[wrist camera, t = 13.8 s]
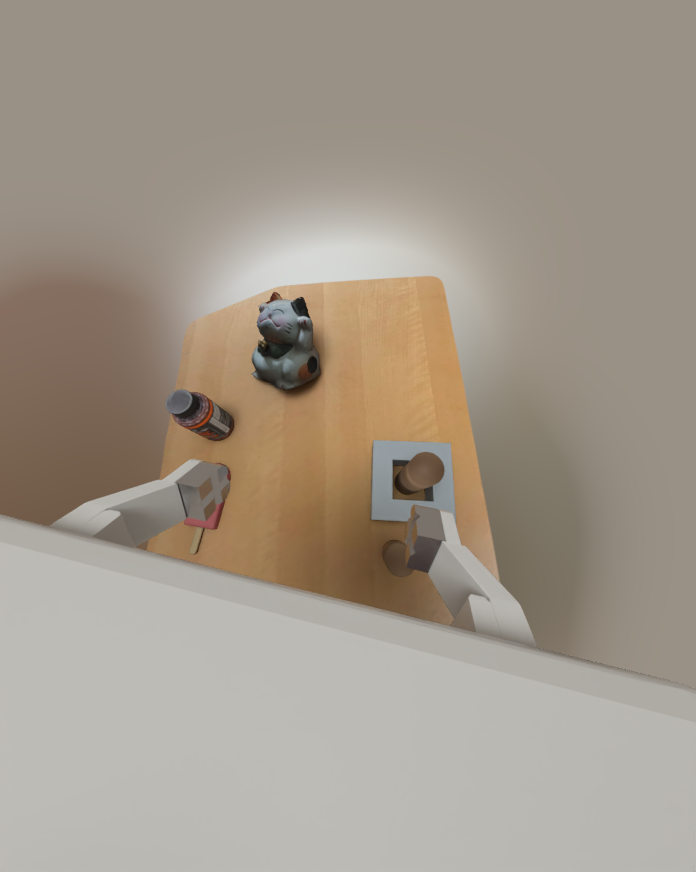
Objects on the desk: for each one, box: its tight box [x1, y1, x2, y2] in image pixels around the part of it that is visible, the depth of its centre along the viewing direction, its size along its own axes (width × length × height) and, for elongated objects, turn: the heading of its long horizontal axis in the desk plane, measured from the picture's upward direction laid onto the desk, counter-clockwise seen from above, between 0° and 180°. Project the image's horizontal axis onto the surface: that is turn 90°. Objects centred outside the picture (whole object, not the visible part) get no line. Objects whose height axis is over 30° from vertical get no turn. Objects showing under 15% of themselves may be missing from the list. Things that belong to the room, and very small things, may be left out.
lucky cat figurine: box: [252, 292, 320, 389], centre depth 45 cm, size 15×12×14 cm
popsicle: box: [184, 463, 231, 554], centre depth 43 cm, size 5×2×15 cm
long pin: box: [395, 452, 445, 495], centre depth 36 cm, size 4×4×14 cm
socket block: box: [370, 440, 456, 523], centre depth 40 cm, size 12×12×5 cm
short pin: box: [382, 540, 414, 577], centre depth 37 cm, size 4×4×6 cm
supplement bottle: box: [166, 389, 233, 441], centre depth 42 cm, size 6×6×11 cm
